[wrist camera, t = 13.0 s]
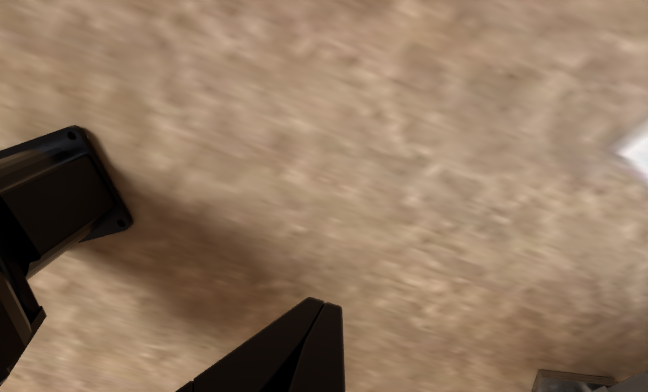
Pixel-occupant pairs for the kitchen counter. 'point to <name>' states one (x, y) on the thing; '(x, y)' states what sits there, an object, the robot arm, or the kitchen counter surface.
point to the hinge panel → (629, 384)
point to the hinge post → (569, 382)
